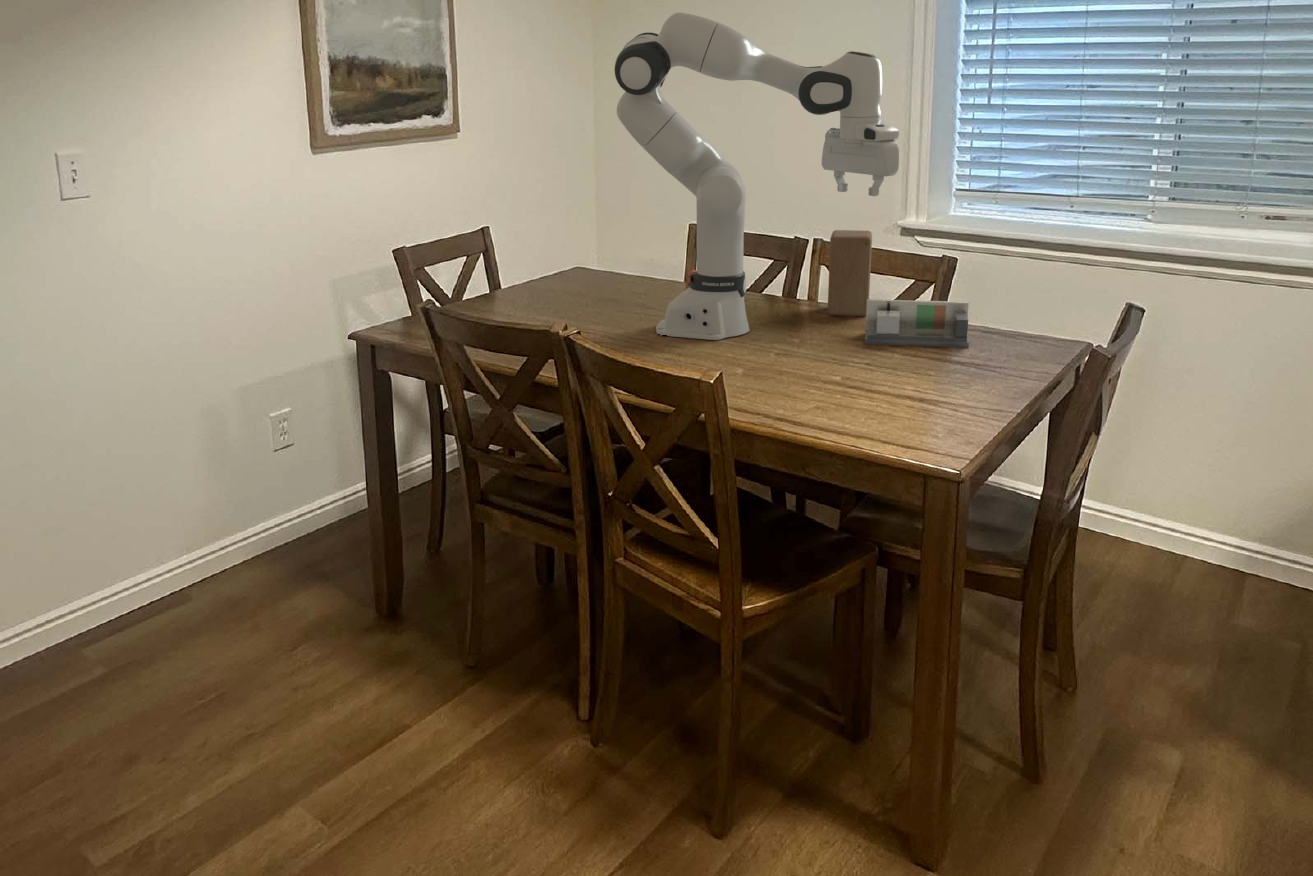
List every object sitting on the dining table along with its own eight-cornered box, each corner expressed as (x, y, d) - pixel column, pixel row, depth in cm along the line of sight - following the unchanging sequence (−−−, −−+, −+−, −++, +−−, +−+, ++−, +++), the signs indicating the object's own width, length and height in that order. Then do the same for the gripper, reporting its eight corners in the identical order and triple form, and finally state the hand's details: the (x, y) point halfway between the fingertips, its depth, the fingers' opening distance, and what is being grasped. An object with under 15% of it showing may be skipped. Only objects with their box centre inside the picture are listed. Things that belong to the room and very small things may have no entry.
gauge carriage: (876, 337, 257) (877, 309, 255) (876, 329, 263) (877, 302, 261) (898, 337, 256) (900, 309, 254) (898, 330, 262) (899, 303, 260)
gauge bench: (864, 344, 257) (866, 309, 254) (865, 333, 266) (866, 299, 263) (968, 347, 253) (971, 311, 250) (965, 335, 262) (968, 301, 259)
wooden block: (867, 317, 280) (871, 237, 273) (827, 316, 282) (830, 236, 275) (868, 307, 290) (872, 229, 283) (829, 306, 291) (832, 229, 284)
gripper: (816, 128, 252) (814, 190, 257) (884, 133, 237) (882, 199, 242) (836, 126, 256) (834, 187, 261) (905, 131, 240) (901, 196, 245)
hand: (857, 193), depth 251 cm, fingers open, 8 cm apart
